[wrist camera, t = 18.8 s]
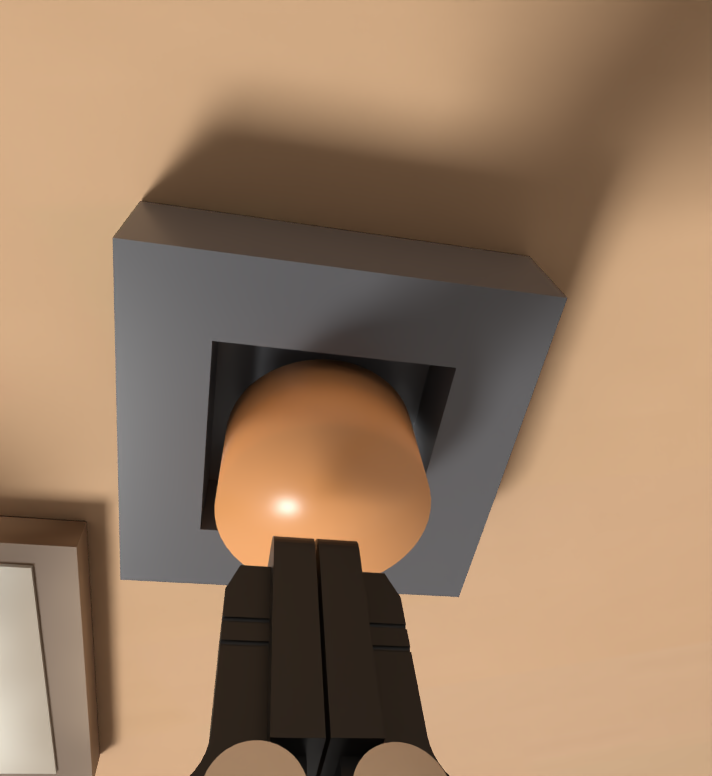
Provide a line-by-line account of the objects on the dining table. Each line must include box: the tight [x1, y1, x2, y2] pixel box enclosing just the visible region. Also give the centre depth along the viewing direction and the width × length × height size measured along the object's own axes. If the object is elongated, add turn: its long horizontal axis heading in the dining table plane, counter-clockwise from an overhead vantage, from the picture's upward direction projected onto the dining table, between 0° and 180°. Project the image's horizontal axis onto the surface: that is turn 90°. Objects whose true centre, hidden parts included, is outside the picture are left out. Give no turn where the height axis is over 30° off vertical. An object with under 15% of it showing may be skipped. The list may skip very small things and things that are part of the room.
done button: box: [215, 359, 431, 573], centre depth 14 cm, size 4×4×2 cm
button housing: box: [113, 201, 567, 597], centre depth 16 cm, size 9×9×2 cm
